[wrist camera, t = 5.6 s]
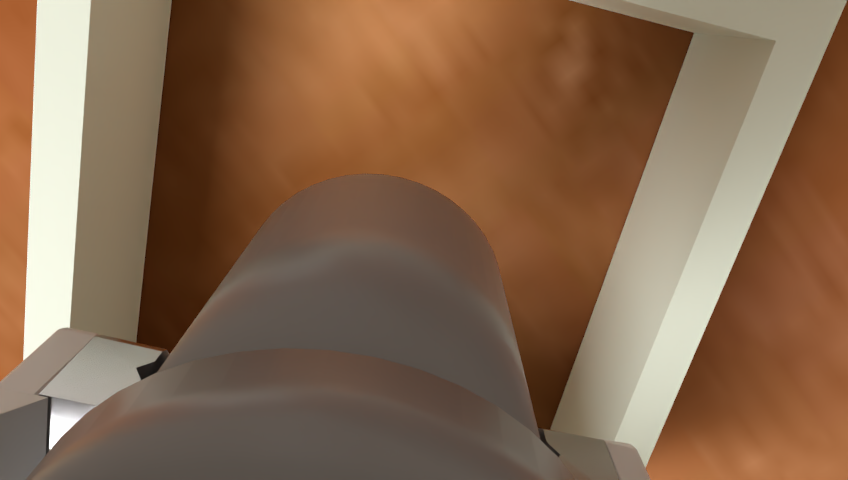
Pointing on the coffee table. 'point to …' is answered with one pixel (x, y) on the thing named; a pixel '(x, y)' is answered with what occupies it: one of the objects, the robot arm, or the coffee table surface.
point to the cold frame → (634, 255)
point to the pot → (333, 358)
